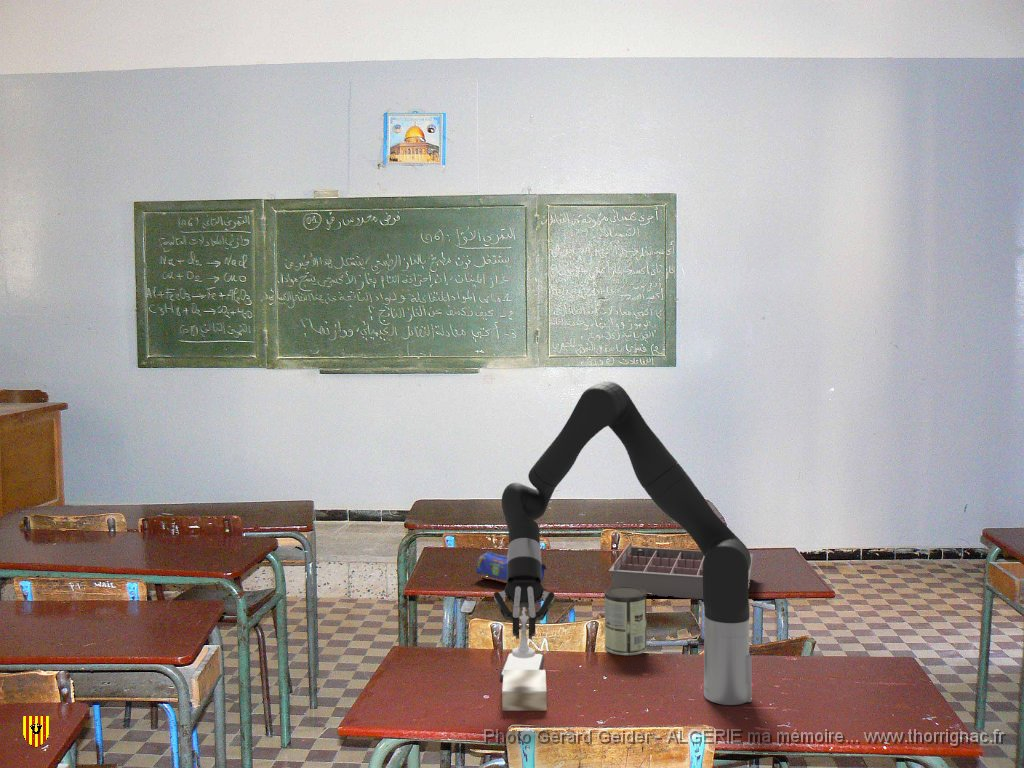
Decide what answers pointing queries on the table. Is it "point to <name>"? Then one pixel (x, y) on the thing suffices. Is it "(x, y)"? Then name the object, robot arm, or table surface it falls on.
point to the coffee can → (625, 620)
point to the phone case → (522, 663)
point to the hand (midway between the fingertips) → (524, 636)
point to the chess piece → (523, 640)
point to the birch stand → (524, 690)
